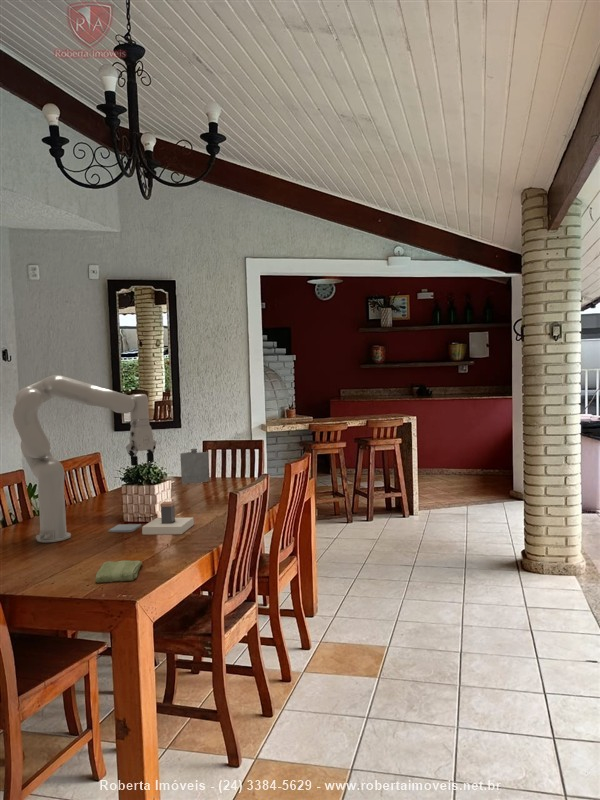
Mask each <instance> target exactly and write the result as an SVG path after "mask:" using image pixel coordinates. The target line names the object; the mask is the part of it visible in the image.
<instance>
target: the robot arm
mask: <svg viewBox="0 0 600 800" xmlns="http://www.w3.org/2000/svg"><path fill="white" fill-rule="evenodd" d="M55 397H57V398H61V399H65V400H69V401H71V402H76V403H78V404H82V405H86V406H91V407H100V408H103V409H104V408H105V409H109V410H111V411H113V412H114V413H117V414H129V415H130V422H129V423H130V431H129V443H127V445H126V446H125V450H126V452H127V454H128V456H129V457H130V466H131V467H132V466H133V467H134V466H135V467H138V465H139V463H138V461H139V460H138V455H137V454H138V453H139V452H143V451H146V461H147V463H154V462H155V457H154V454H155V451H156V446H157V444H158V443H157V441H156V440H154V435H153V434H154V433H153V429H152V426H151V425H150V414H149V401H148V399H149V398H148V395H147V394H146V393H137V394H136V393H135V394H130V395H128V394H126V393H122V392H118V391H115V390H112V389H108V388H104V387H101V386H98V385H95V384H92V383H88V382H85V381H82V380H79V379H78V380H77V379H74V378H71V377H67V376H65V375H60V374H54V375H49V376H47V377H45V378H43V379H41V380H38V381H37V382H35V383H33V384H30V385H28V386H26V387H23V388H22V389H20V390H19V391H18V392H17V393H16V396H15V405H14V408H13V412H12V413H13V414H12V418H13V423H14V426H15V429H16V430H17V433H18V436H19V438H20V440H21V441H20V449H21V452H22V454H23V456H24V458H25V460H26V463H27V464H28V466H29V468H30V470H31V472H32V474H33V475H34V476H35V478H37V479H38V480H37V481H38V482H37V484H38V487H37V489H38V490H37V496H38V497H37V498H38V509H39V511H38V512H39V527H40V530H39V531H40V532H39V534H37V535H35V539H36V542H38V543H44V544H45V543H57V542H62V541H66V540H68V539H71V537H72V534H71V532H67V519H66V518H67V516H66V515H67V514H66V502H65V501H66V499H65V468H64V466H63V464H62V462H61V461H59V460H58V459H55V458H54V457H53V455H52V452H51V451H50V450H51V443H50V441H49V439H48V437H47V435H46V432H45V431H44V429H43V427H42V425H41V422H40V421H39V418H38V411H39V409H40V407H41V406H42V404H44V403H45V402H47V401H50V400H52V399H54V398H55ZM149 461H150V462H149Z"/></svg>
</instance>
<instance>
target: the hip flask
mask: <svg viewBox="0 0 600 800" xmlns="http://www.w3.org/2000/svg"><path fill="white" fill-rule="evenodd" d="M209 459H210V457H209V452H208V451H204V452H203V451H202V452H201V451H200V452H198V448H190V451H188V452H181V453H180V473H181V474H180V475H181V477H180V478H181V484H182V485H187V484H186V483H201V482H207V481H211V480H210V479H211V478H210V460H209ZM201 484H202V483H201Z"/></svg>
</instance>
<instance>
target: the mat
mask: <svg viewBox="0 0 600 800" xmlns="http://www.w3.org/2000/svg"><path fill="white" fill-rule="evenodd" d="M140 528H142V524H141V523H139V524H137V523H135V524H133V523H132V524H131V523H130V524H121V523H120V524H117V525H115V526H114V527H112V528H110V529H108V530H107V532H108V533H133V532H135V531H137V530H138V529H140Z"/></svg>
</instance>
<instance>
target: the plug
mask: <svg viewBox="0 0 600 800" xmlns="http://www.w3.org/2000/svg"><path fill="white" fill-rule="evenodd" d="M175 502H176V501H175V500H173V501H162V502H161V503H160V506H159V507H160V518H161V521H162V524H172V523H174V522H175V518H176V512H175V511H176V510H175Z"/></svg>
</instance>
